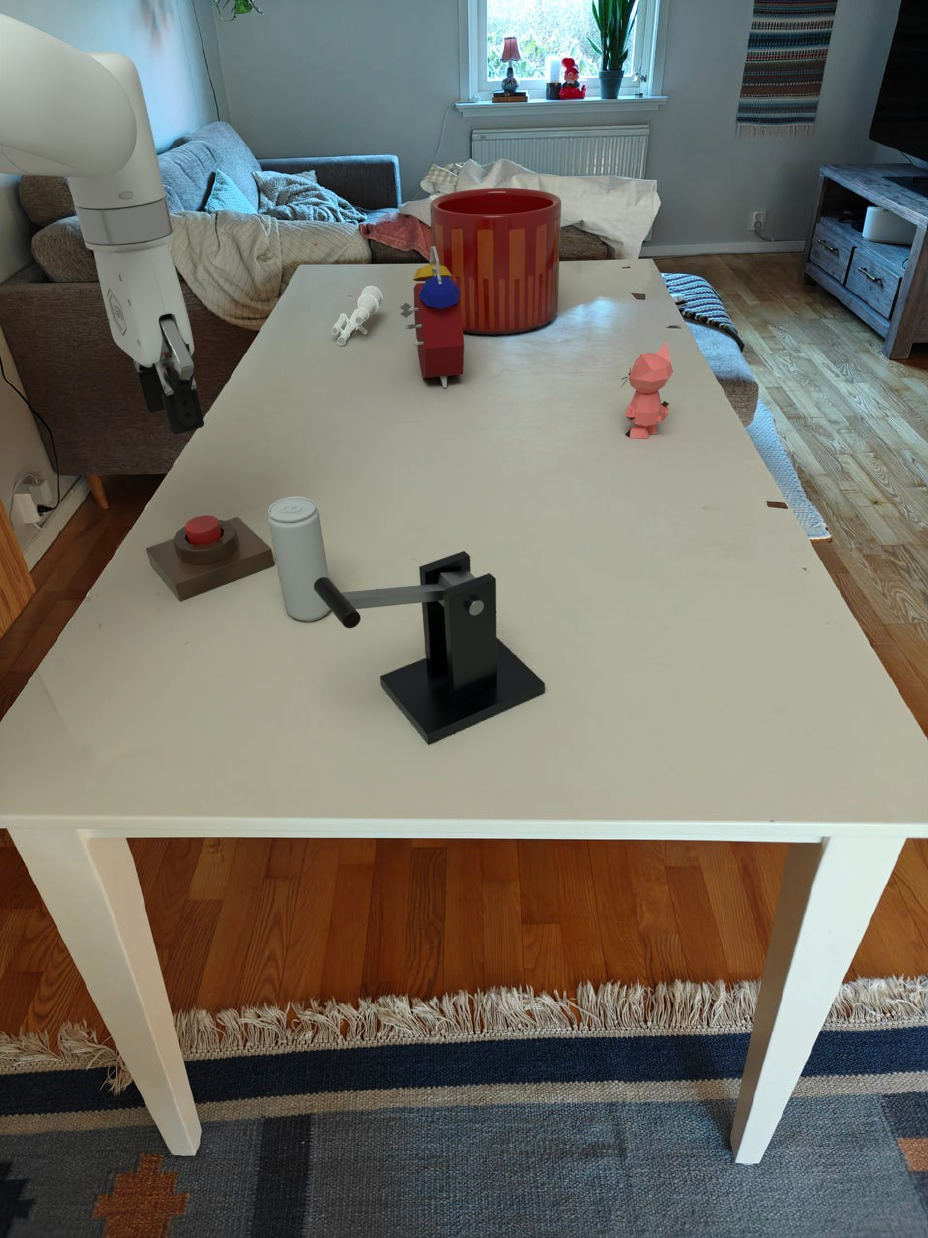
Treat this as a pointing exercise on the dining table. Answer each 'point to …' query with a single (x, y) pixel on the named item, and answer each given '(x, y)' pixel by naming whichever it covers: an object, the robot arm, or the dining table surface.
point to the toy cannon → (359, 313)
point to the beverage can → (299, 555)
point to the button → (203, 530)
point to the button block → (209, 559)
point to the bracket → (460, 660)
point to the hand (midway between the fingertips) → (175, 417)
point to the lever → (383, 596)
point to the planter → (500, 256)
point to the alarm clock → (437, 322)
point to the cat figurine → (648, 392)
